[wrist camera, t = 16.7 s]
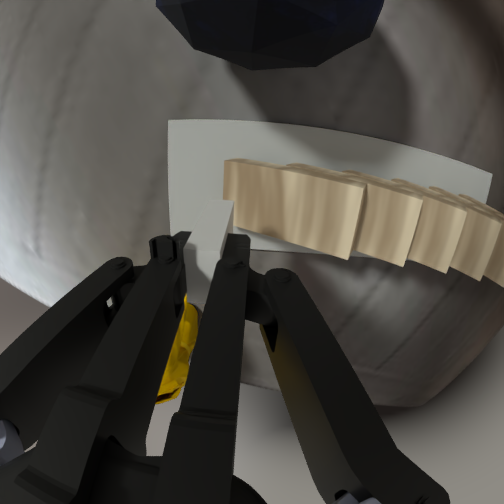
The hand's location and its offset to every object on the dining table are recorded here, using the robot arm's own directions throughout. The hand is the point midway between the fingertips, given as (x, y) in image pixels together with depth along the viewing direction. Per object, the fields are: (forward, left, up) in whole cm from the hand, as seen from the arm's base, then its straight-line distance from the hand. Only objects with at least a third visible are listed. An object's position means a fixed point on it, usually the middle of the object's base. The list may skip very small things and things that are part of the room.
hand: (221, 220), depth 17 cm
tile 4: (0, +15, -7) cm, 16 cm away
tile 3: (0, +10, -7) cm, 12 cm away
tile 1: (0, 0, -7) cm, 7 cm away
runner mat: (0, +12, -8) cm, 14 cm away
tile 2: (0, +5, -7) cm, 9 cm away
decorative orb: (-17, +2, -9) cm, 19 cm away
